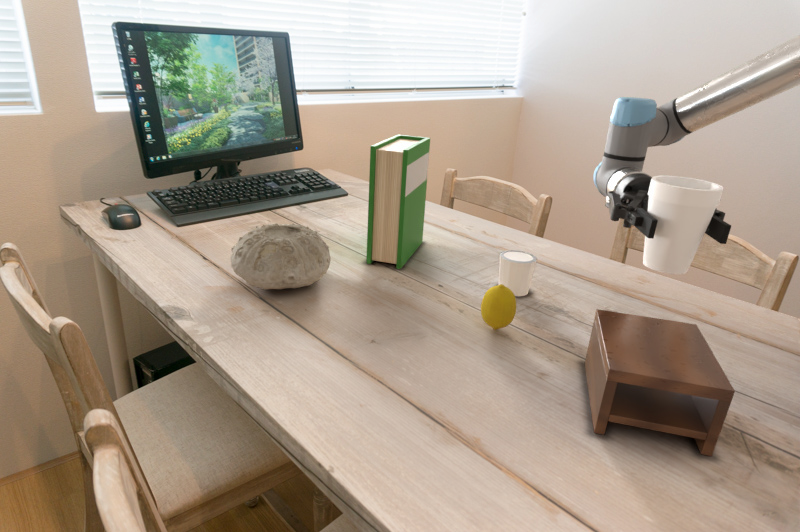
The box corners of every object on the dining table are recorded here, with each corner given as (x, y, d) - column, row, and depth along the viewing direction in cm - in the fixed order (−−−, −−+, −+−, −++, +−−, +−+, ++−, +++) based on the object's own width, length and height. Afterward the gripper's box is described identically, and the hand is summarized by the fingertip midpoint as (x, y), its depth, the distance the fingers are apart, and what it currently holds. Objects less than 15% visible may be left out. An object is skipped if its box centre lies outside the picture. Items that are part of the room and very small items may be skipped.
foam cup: (618, 258, 83) (637, 176, 78) (661, 253, 87) (681, 174, 82) (668, 281, 75) (692, 192, 70) (713, 274, 79) (739, 189, 74)
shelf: (679, 380, 75) (696, 324, 72) (712, 456, 61) (735, 391, 57) (584, 363, 78) (596, 309, 74) (593, 433, 63) (609, 369, 60)
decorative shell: (331, 301, 92) (331, 247, 88) (224, 302, 89) (220, 247, 85) (329, 263, 108) (329, 216, 104) (239, 262, 106) (236, 214, 102)
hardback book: (400, 269, 107) (408, 150, 98) (366, 263, 109) (370, 146, 100) (422, 242, 123) (430, 137, 114) (392, 237, 125) (397, 134, 116)
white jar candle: (504, 279, 105) (509, 246, 103) (537, 289, 102) (542, 255, 99) (488, 290, 100) (493, 256, 97) (522, 301, 96) (528, 265, 94)
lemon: (498, 341, 82) (504, 295, 79) (471, 327, 86) (476, 282, 83) (519, 331, 86) (526, 286, 83) (493, 318, 90) (499, 274, 87)
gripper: (692, 217, 96) (761, 263, 75) (569, 209, 97) (604, 251, 76) (703, 176, 93) (778, 211, 72) (577, 168, 94) (615, 200, 73)
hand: (689, 232), depth 74 cm, fingers closed on foam cup, 9 cm apart
